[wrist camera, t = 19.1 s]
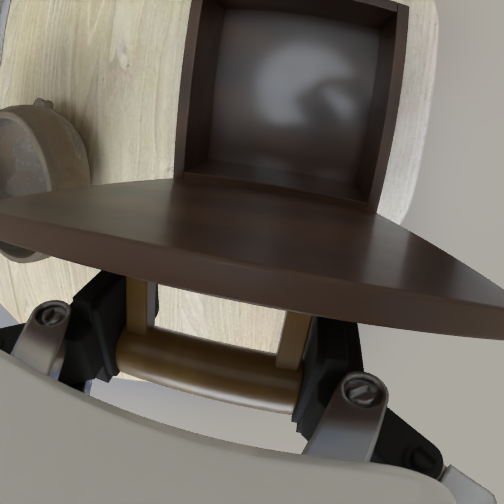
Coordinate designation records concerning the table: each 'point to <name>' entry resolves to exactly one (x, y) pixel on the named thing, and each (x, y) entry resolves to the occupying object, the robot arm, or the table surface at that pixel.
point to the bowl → (38, 159)
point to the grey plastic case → (3, 20)
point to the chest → (292, 96)
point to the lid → (250, 275)
